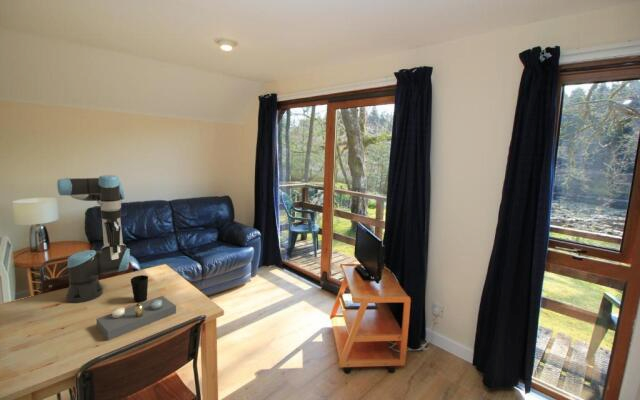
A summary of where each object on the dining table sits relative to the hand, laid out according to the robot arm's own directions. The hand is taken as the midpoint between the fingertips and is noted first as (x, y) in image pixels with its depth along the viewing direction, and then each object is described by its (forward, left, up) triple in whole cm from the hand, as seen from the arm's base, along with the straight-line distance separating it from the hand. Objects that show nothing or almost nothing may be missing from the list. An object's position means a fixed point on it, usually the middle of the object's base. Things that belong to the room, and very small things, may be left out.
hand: (114, 258), depth 140 cm
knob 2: (+18, +10, -26) cm, 33 cm away
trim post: (+19, +2, -22) cm, 29 cm away
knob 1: (+13, -4, -26) cm, 29 cm away
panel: (+15, +3, -26) cm, 30 cm away
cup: (-3, +11, -27) cm, 29 cm away
